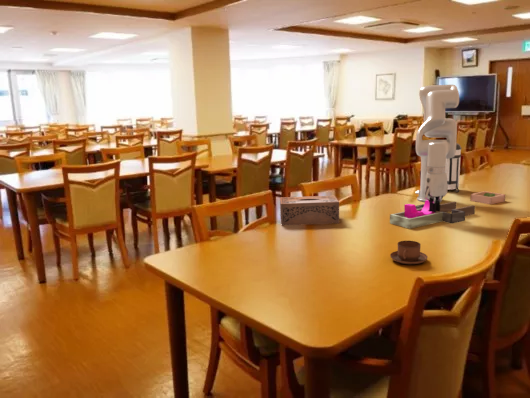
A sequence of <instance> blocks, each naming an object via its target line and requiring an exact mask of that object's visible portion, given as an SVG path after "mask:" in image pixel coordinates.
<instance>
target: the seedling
mask: <svg viewBox="0 0 530 398" xmlns="http://www.w3.org/2000/svg"><path fill="white" fill-rule="evenodd" d="M494 193H495V192H493V193H492V194H490V193H485V194H484V196H487V197H493V196H495V194H494Z"/></svg>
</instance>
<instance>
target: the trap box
mask: <svg viewBox="0 0 530 398" xmlns="http://www.w3.org/2000/svg"><path fill="white" fill-rule="evenodd" d="M424 204H425V203H423V204H417V205H415V206H416V209H417V211H421V210H422V208H423V207H424ZM449 212H450V213H449ZM475 212H476V205H473V204H472V205H468V206H463V207H457V201H452V202H446V203H445V202H444V203H440V211H436V212H435V213H434V214H429V215H424V216H419V217H415V218H406V217H405V211H401V212H396V213H391V214H389V224H391V225H394V226H398V227H402V228H404V229H405V228H406V229H409V230H410V229H414V228H418V227H424V226H428V225H432V224H436V223H440V222H441V223H442V222H443V223H447V224H451V225H452V224H458V223H461V222H464V221H466V217H467V216H472V215H475Z"/></svg>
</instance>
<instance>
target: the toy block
mask: <svg viewBox="0 0 530 398" xmlns="http://www.w3.org/2000/svg"><path fill="white" fill-rule="evenodd" d="M423 204H424V207H423V208H422V210H421V211H417V209H416V206H417V205H416V204H411V203H406V204H404V208H403V209H404V212H405V217H406V218H415V217H419V216H424V215H429V214H434V213H435V212H432V211H429V206H430V203H429V201H428V200H426V201H425V202H424V203H423Z"/></svg>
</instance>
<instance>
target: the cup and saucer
mask: <svg viewBox="0 0 530 398" xmlns="http://www.w3.org/2000/svg"><path fill="white" fill-rule="evenodd" d="M390 258H391V259H392V260H393V261H395V262H396V263H399V264H403V265H418V264H422V263H424V262H426V261H427V260H428V255H427V254H426V253H425V252H422V251H421V243H420V242H419V241H415V240H401V241H398V242H397V250H395V251H393V252H391V253H390Z"/></svg>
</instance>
